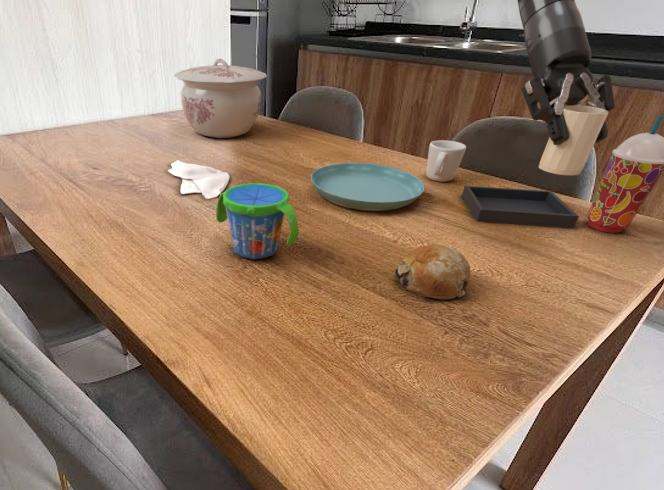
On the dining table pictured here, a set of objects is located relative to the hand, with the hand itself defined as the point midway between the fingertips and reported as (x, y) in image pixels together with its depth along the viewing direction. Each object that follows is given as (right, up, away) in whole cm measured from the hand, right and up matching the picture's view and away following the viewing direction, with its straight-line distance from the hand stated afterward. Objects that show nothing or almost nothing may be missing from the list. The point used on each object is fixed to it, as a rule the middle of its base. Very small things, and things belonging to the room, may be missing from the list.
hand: (580, 141), depth 68 cm
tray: (+4, -5, +24) cm, 25 cm away
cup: (-5, +6, +40) cm, 40 cm away
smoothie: (+18, -10, +18) cm, 28 cm away
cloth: (-62, +6, +39) cm, 73 cm away
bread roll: (-23, -22, +1) cm, 32 cm away
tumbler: (0, -3, +4) cm, 5 cm away
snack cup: (-50, -16, +9) cm, 53 cm away
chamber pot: (-58, +31, +75) cm, 100 cm away
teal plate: (-25, 0, +32) cm, 40 cm away
